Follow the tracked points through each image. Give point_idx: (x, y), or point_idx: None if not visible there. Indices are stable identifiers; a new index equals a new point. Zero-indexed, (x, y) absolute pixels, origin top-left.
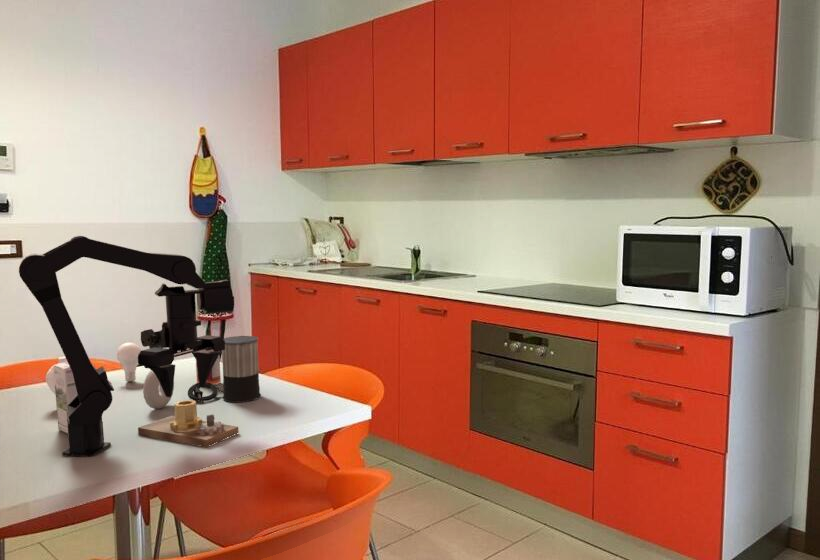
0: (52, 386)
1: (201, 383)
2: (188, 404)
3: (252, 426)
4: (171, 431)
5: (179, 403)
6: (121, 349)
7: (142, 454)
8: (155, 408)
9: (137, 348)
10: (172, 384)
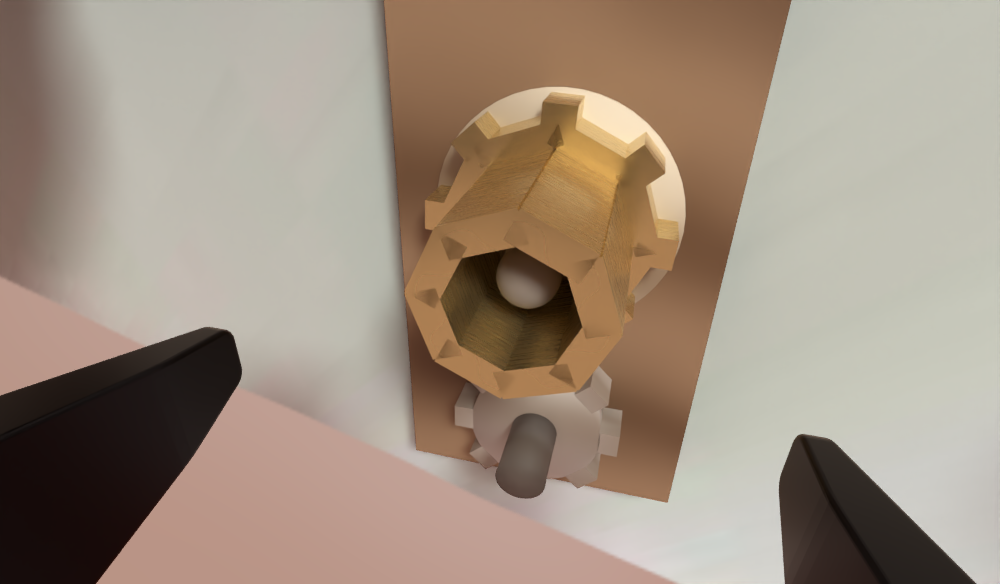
0: None
1: (796, 492)
2: (476, 371)
3: None
4: (429, 178)
5: (491, 248)
6: None
7: (200, 189)
8: None
9: None
10: (114, 540)
